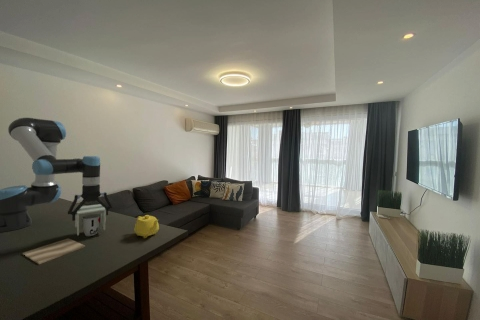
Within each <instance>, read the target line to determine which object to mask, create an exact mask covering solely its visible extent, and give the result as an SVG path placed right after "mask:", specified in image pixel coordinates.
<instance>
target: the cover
mask: <svg viewBox="0 0 480 320" xmlns="http://www.w3.org/2000/svg"><path fill="white" fill-rule="evenodd" d="M98 212H100V213H101V214H100V215H101V216H100V225H101V226H102V229H103V231H105V230H106V222H105V207H103V206H102V205H101V204H100V203H99V204H91V205H83V206H82V207H81V208H80V209H79V210H78V211H77V227H76V235H77V236H79V235H80V215H83V214H90V213H91V214H92V213H98Z"/></svg>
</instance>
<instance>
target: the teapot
mask: <svg viewBox="0 0 480 320" xmlns="http://www.w3.org/2000/svg"><path fill="white" fill-rule="evenodd" d="M158 221H159V219H157V217H155V216H153V215H149V214H146V215H144V216H140V215H139V216H137V218H136V222H135V223H134V229H133V231H134V233H135V234H136V235H137V236H138V237H139V236H140V237H142V238H143V239H147V238H148V237H150V236H152V235H153V236H154V235H156V234H157V233H158V232H159V229H160V226H159V222H158Z"/></svg>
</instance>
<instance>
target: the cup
mask: <svg viewBox="0 0 480 320" xmlns="http://www.w3.org/2000/svg"><path fill="white" fill-rule="evenodd" d="M81 222H82V229H83V233H84V235H85V237H92V236H95V235H97V234H98V232H99V229H100V225H101V214H100V213H91V214H90V213H89V214H86V215H84V216H82V217H81Z"/></svg>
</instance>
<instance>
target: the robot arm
mask: <svg viewBox="0 0 480 320" xmlns="http://www.w3.org/2000/svg"><path fill="white" fill-rule="evenodd" d="M7 130H8V134H9V136H10V137H11V138H12V139H13V140H15V141H16V142H17V141H18V143H19V144H20V146H21V147H22V148H23V149H24V150H25V152H26V153H27V154H28V156H29V157H30V158H31V159H32V161H33V162H32V164H31V169H32V172H33V174H35V177H34V181H33V182H31V184H30V186H29V187H28V186H27V185H13V186H9V187H4V188H1V189H0V233H3V232H4V233H5V232H11V231H16V230H19V229H23V228H26V227H30V226H31V225H32V224H33V222H32V221H33V219H32V218H31V216H30V214H29V212H28V207H33V206H39V205H44V204H49V203H54V202H56V201H57V200H59V199H60V197H61V194H62V189H61V188H62V187H61V186H60V185H59V184H58V182H57V181H55V175H57V174H58V175H60V174H74V173H75V174H77V173H82V182H81V183H82V186H81V188H82V189H81V194H75V195H74V199H73V201H72V203H71V205H70V207H69V209H68V211H67V215H72V217H71V218H72V221H74V223H75V224H74V227H75V228H77V211H78V210H79V209H80V208H81V207H82V206H84V204H86V203H90V202H97V203H99V204H101V205H102V206H103V207H105V223H106V222H107V220H106V219H107V216H108V215H109V210H110V209H113V206H112V204H111V202H110V200H109V198H108V195H107V192H106V191H104V192H101V189H100V188H101V185H100V183H101V158H100V157H99V156H94V155H92V156H91V155H90V156H89V155H87V156H85V155H84V156H83V157H82V158H71V159H69V158H66V159H65V158H64V159H63V158H60V159H57V151H58V145H59V144H61V141H62V140H65V139H66V137H67V131H66V130H67V129H66V127H65V126H64V125H63V123H62V122H60V121H56V120H52V119H51V120H49V119H42V118H41V119H40V118H33V117H21V118H18V119H15V120H13V121H11V123H10V124H9V126H8V129H7ZM100 196H102V197H104V199H105V201H106V204H107V205H106V204H105V203H104V202H103V200H101V198H100ZM80 198H81V199H82V200H81V202H80V203H79V204H78V205H77V207H75V206H76V203H77V202H78V200H79V199H80Z"/></svg>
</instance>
